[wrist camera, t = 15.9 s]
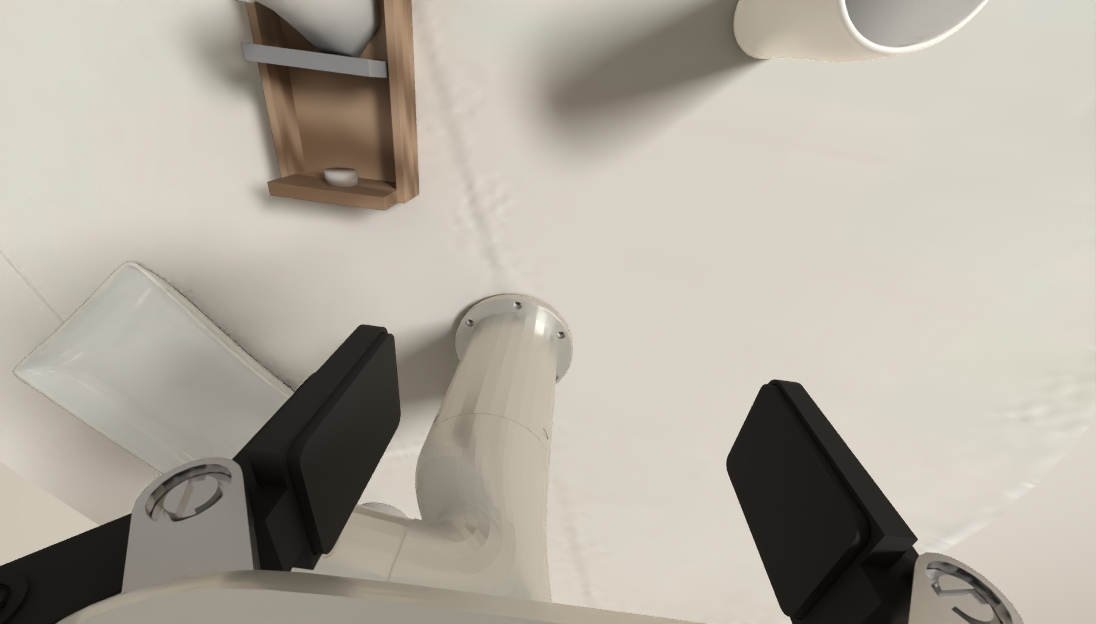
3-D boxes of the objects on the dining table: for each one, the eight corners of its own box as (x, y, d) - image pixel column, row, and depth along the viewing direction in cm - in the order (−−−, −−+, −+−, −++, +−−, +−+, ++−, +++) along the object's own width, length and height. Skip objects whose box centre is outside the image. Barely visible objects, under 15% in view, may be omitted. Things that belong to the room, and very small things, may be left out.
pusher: (397, 78, 31) (369, 76, 27) (289, 64, 31) (244, 60, 27) (395, 63, 31) (367, 59, 26) (286, 48, 31) (241, 42, 26)
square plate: (42, 355, 50) (3, 375, 46) (161, 244, 41) (124, 258, 38) (227, 484, 60) (206, 508, 57) (353, 417, 51) (337, 440, 48)
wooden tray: (419, 193, 37) (392, 211, 31) (307, 179, 37) (262, 194, 31) (408, -70, 28) (368, -107, 22) (261, -89, 28) (188, -131, 23)
